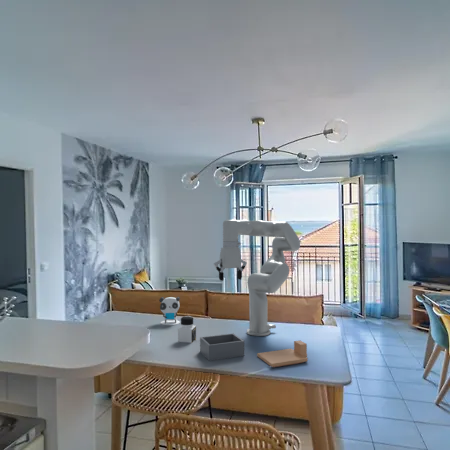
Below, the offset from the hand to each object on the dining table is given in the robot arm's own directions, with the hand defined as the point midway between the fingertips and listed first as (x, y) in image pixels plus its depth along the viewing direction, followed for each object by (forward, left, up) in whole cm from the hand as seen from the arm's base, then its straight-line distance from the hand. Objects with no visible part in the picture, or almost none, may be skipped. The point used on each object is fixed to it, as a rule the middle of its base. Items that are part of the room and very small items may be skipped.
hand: (230, 279), depth 172 cm
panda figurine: (+20, -46, -30) cm, 58 cm away
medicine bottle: (+20, -8, -30) cm, 37 cm away
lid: (-11, +32, -30) cm, 45 cm away
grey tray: (+11, +16, -30) cm, 36 cm away
